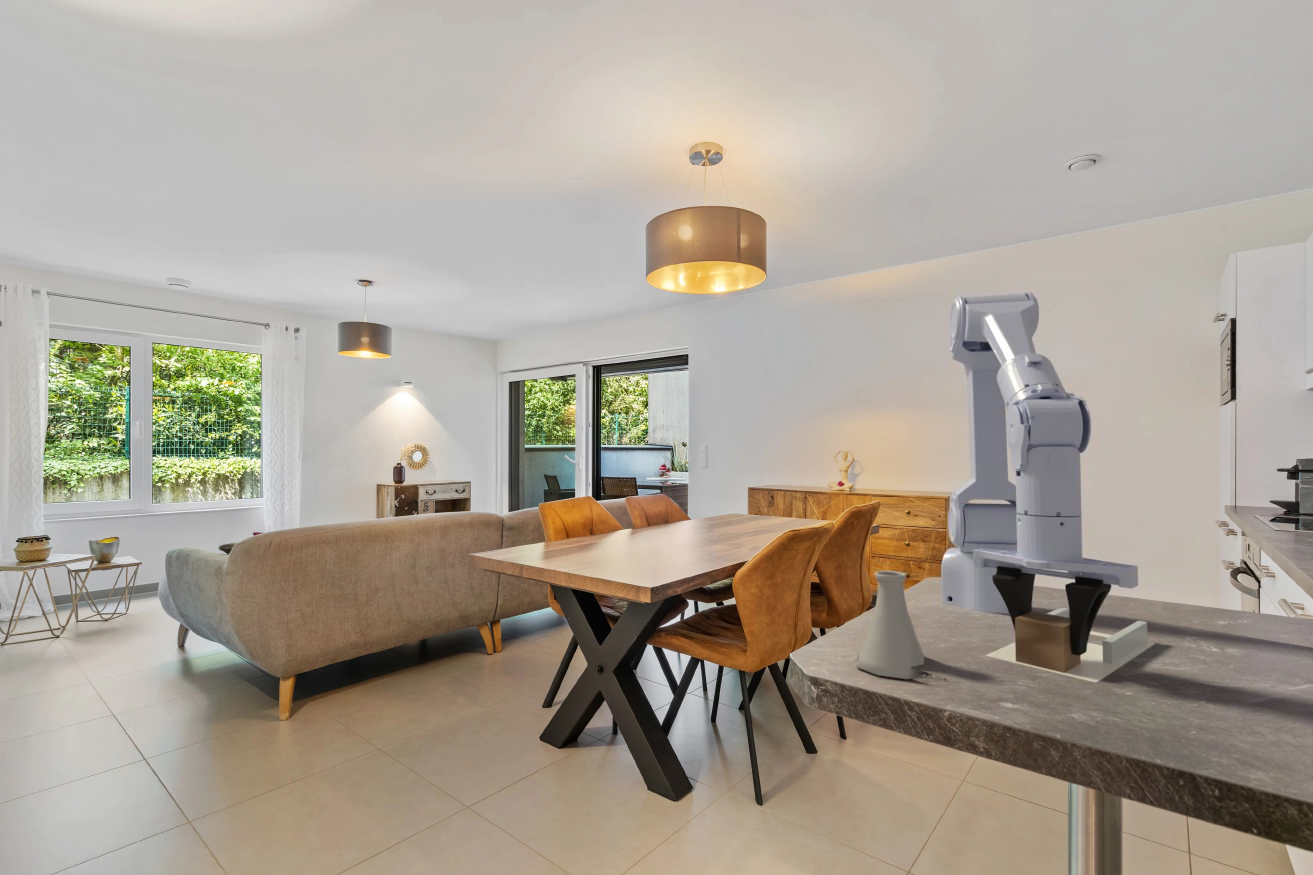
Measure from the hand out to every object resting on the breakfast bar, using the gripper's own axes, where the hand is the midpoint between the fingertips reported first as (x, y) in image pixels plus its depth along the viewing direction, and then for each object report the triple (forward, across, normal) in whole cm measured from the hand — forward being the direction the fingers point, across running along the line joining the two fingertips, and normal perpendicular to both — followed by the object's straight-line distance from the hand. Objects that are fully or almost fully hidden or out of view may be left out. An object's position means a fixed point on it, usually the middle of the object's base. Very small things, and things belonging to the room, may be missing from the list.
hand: (1050, 646), depth 64 cm
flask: (+3, -11, -12) cm, 16 cm away
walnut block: (+1, 0, -1) cm, 2 cm away
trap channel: (+3, 0, +6) cm, 7 cm away
